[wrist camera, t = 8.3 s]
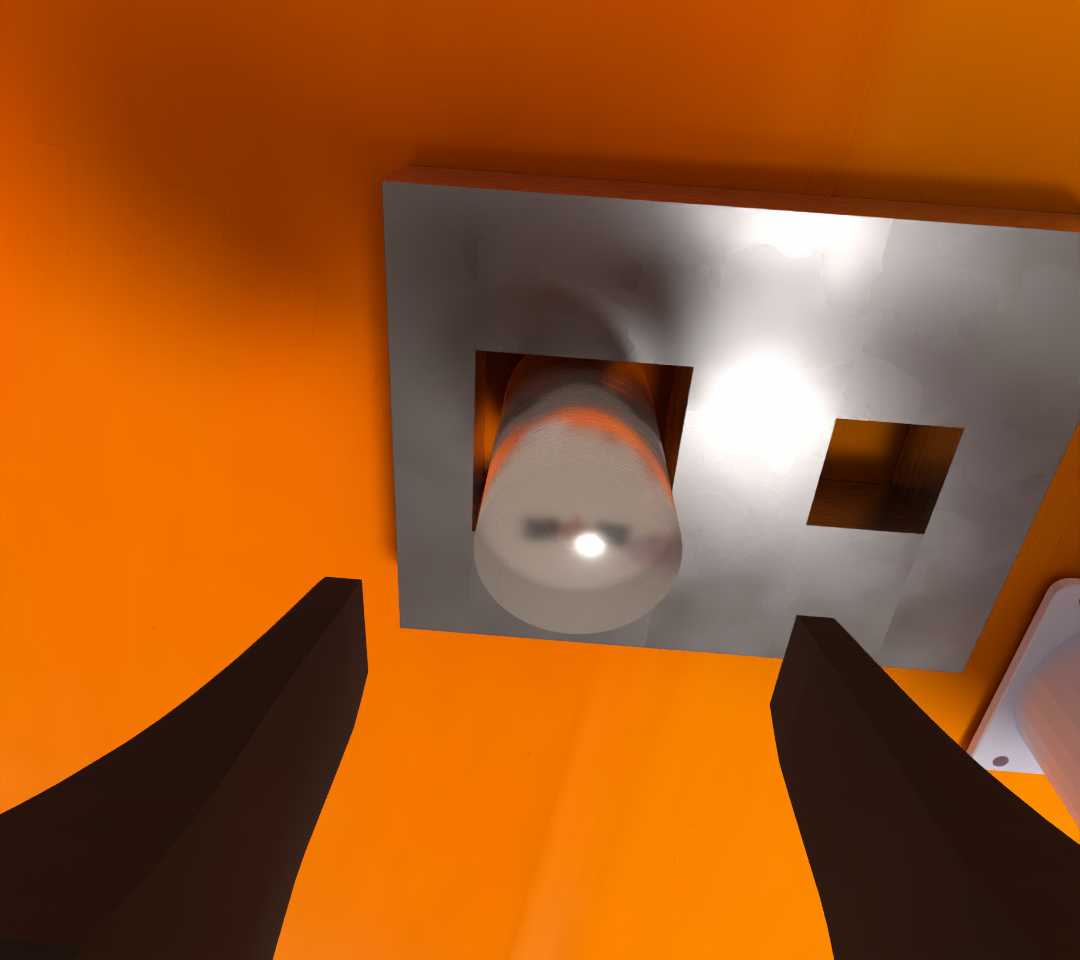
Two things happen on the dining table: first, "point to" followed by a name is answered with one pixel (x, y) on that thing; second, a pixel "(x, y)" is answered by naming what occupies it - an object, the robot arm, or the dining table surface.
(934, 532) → the fitting block
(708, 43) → the dining table surface
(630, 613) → the cylinder
